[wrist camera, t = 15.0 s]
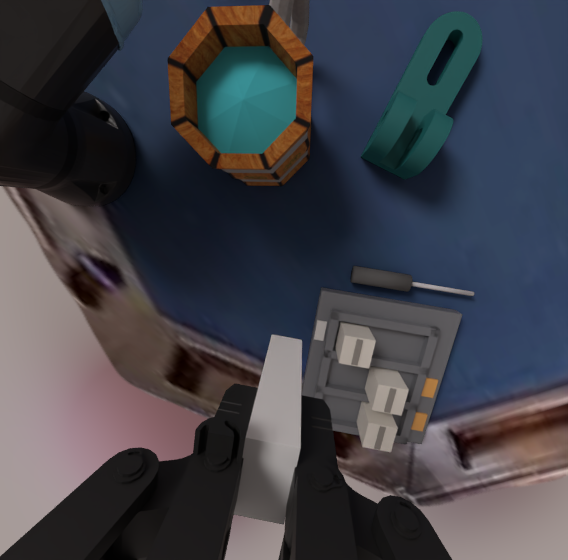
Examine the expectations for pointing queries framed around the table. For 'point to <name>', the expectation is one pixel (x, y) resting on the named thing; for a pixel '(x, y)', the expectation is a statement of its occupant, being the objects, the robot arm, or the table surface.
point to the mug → (246, 90)
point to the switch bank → (380, 357)
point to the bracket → (424, 99)
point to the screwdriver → (394, 280)
